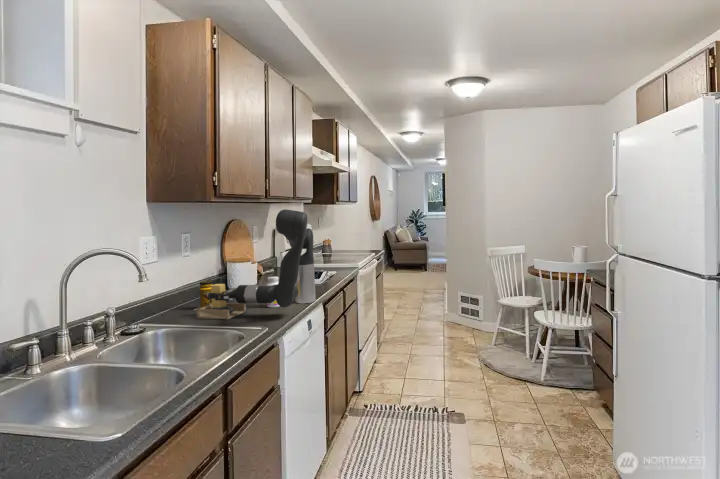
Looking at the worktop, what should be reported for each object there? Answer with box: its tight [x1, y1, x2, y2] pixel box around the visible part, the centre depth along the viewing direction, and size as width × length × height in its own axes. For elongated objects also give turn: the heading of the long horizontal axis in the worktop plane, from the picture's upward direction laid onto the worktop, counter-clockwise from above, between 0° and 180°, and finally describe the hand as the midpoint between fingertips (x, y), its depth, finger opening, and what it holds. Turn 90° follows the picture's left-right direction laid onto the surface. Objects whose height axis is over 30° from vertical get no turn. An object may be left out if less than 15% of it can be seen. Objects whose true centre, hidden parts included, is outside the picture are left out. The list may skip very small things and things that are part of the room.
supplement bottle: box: [265, 276, 281, 309], centre depth 212 cm, size 7×7×13 cm
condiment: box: [194, 280, 213, 311], centre depth 213 cm, size 7×8×12 cm
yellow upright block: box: [211, 283, 227, 310], centre depth 199 cm, size 4×4×12 cm
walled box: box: [196, 302, 247, 320], centre depth 199 cm, size 14×14×4 cm
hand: (214, 293), depth 199 cm, fingers open, 8 cm apart
